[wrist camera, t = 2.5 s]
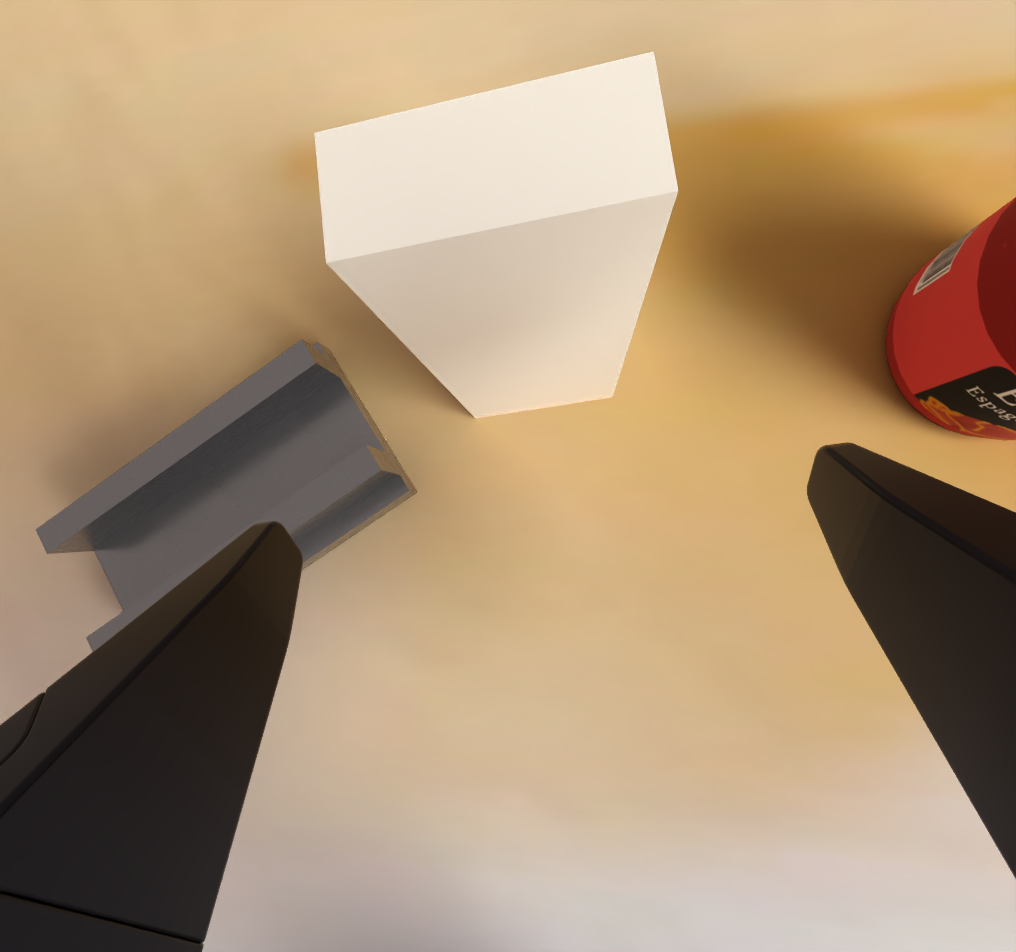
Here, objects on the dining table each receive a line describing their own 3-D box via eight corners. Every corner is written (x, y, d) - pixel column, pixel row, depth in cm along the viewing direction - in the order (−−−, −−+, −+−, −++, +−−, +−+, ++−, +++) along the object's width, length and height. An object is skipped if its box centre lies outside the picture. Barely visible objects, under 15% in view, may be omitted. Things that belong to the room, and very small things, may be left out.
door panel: (612, 397, 20) (677, 190, 8) (475, 418, 21) (325, 262, 8) (602, 333, 21) (650, 32, 8) (468, 356, 21) (313, 114, 9)
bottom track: (417, 492, 21) (391, 487, 18) (169, 659, 22) (106, 681, 19) (329, 350, 22) (292, 324, 19) (97, 514, 23) (28, 513, 20)
